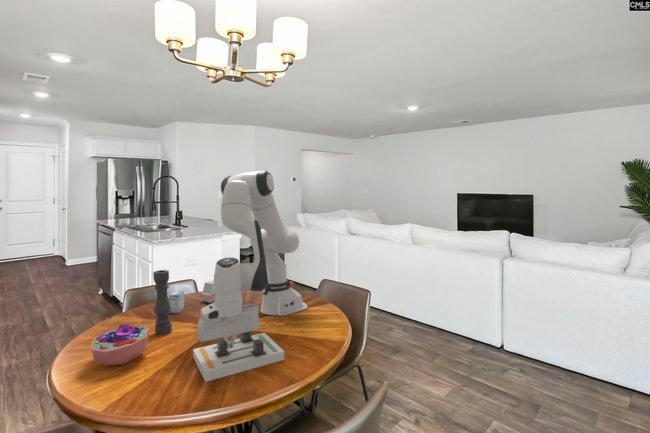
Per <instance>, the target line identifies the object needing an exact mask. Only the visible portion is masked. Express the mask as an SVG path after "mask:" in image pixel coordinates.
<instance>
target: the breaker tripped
mask: <svg viewBox="0 0 650 433" xmlns="http://www.w3.org/2000/svg"><path fill="white" fill-rule="evenodd" d="M216 342H217V343H216V344H217V349H218V351H216V352H215V354H216V355H217V357H222V356H226V355H230V353H229V351H228V350H227V342H226V341H225V340H224V339H221V340H217V341H216Z"/></svg>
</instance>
